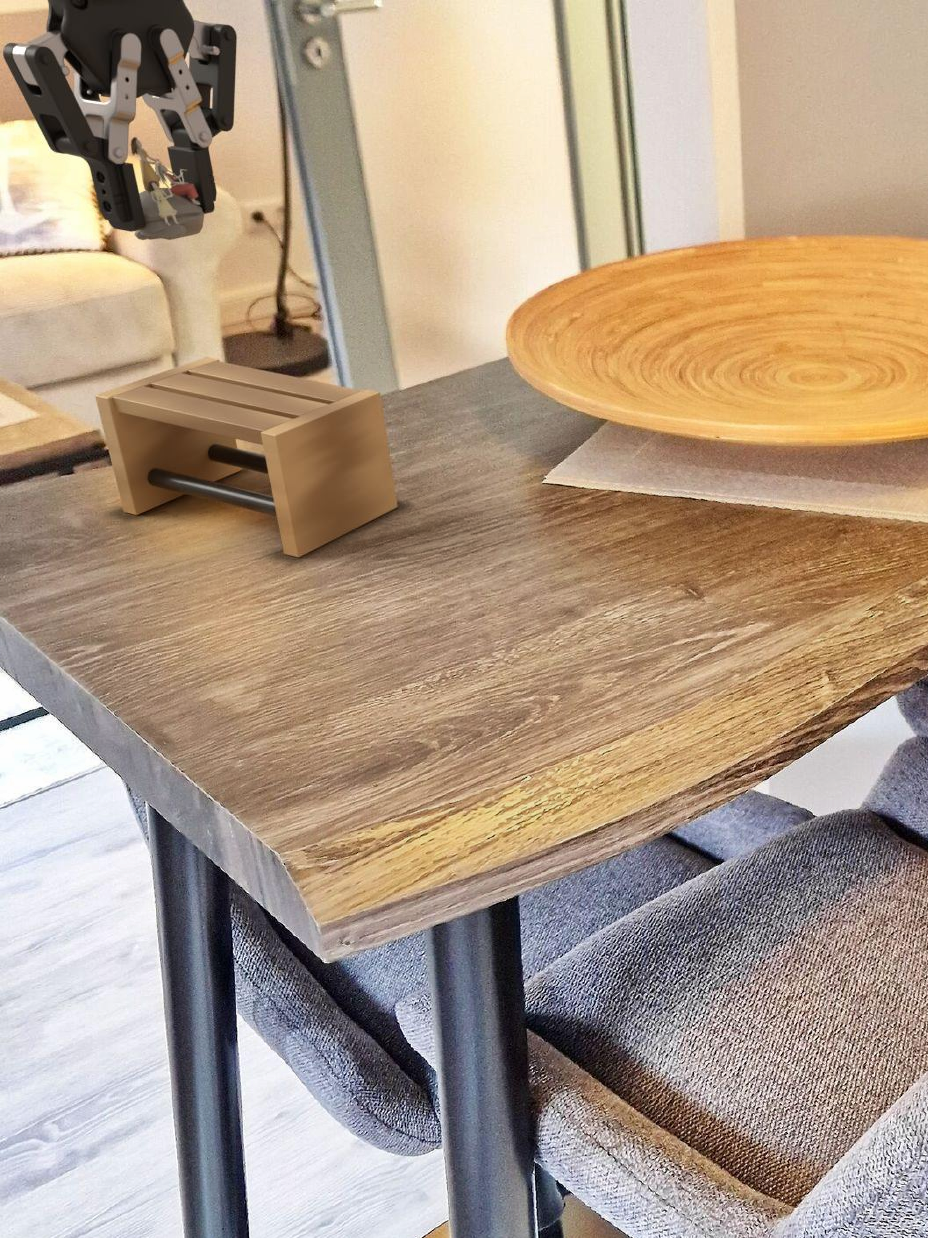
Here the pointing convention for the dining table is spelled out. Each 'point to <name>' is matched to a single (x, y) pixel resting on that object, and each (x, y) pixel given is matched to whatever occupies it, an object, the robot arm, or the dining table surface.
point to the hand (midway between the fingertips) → (163, 219)
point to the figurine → (166, 202)
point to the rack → (259, 413)
